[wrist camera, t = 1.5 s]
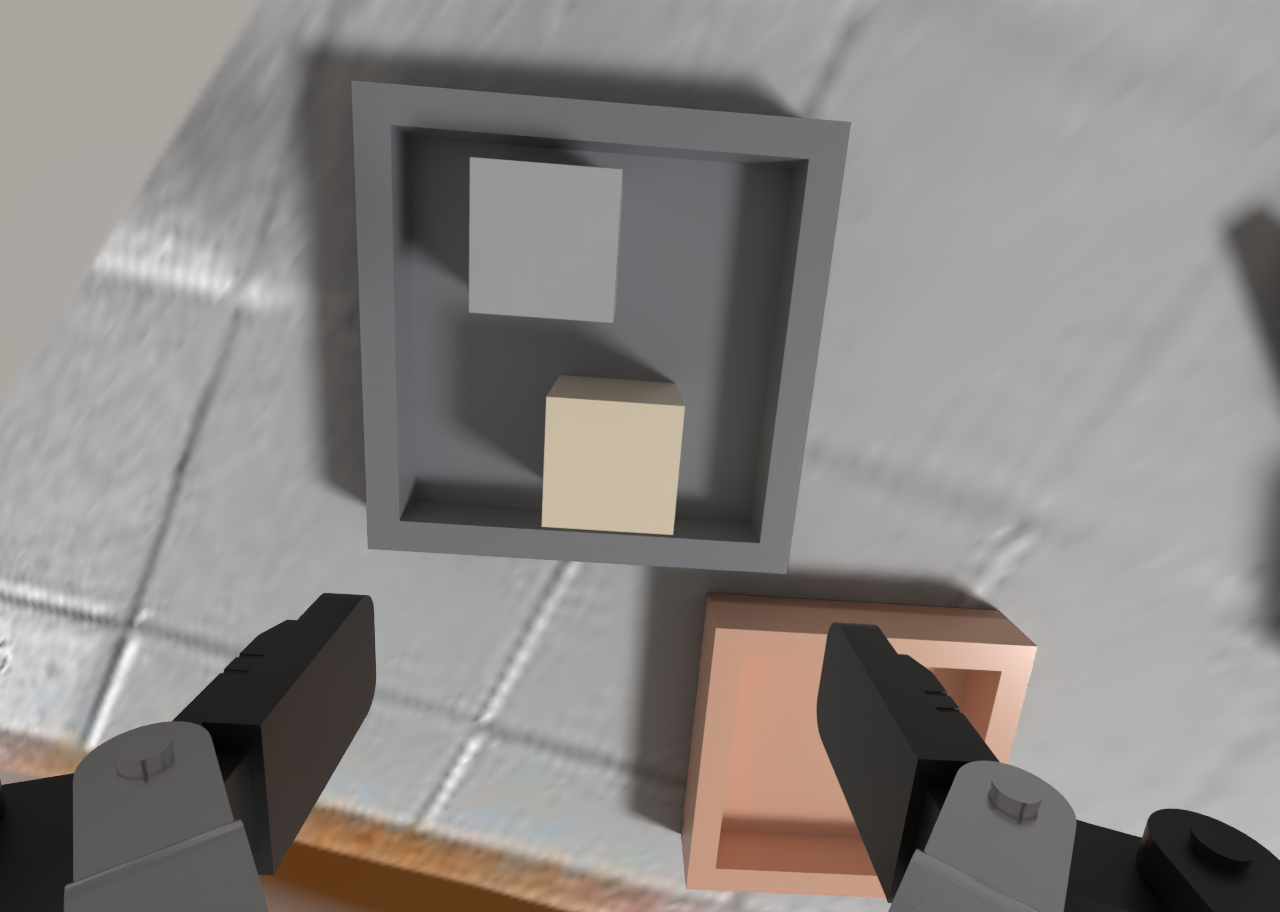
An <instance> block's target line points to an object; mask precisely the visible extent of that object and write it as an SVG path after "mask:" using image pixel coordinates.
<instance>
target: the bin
mask: <svg viewBox="0 0 1280 912" xmlns="http://www.w3.org/2000/svg"><path fill="white" fill-rule="evenodd" d="M351 92H352V120H353V147H354V175H355V203H356V231H357V258H358V286H359V314H360V342H361V369H362V397H363V425H364V452H365V480H366V508H367V536H368V549H379V550H396V551H412V552H429V553H446V554H462V555H479V556H496V557H512V558H529V559H545V560H562V561H579V562H595V563H612V564H629V565H645V566H662V567H678V568H695V569H712V570H728V571H745V572H762V573H778V574H787V569H788V562H789V555H790V548H791V541H792V534H793V527H794V520H795V513H796V506H797V499H798V492H799V485H800V478H801V471H802V464H803V457H804V450H805V443H806V435H807V428H808V421H809V414H810V407H811V400H812V393H813V386H814V379H815V372H816V365H817V358H818V351H819V344H820V337H821V330H822V323H823V316H824V309H825V302H826V295H827V287H828V280H829V273H830V266H831V259H832V252H833V245H834V238H835V231H836V224H837V217H838V210H839V203H840V196H841V189H842V182H843V175H844V168H845V161H846V154H847V146H848V139H849V132H850V125H851V122H843V121H831V120H819V119H807V118H795V117H783V116H771V115H759V114H747V113H735V112H723V111H711V110H700V109H688V108H676V107H664V106H652V105H640V104H628V103H616V102H604V101H592V100H580V99H568V98H556V97H544V96H532V95H520V94H508V93H496V92H485V91H473V90H461V89H449V88H437V87H425V86H413V85H401V84H389V83H377V82H365V81H353V80H351ZM470 157H474V158H487V159H499V160H512V161H524V162H537V163H549V164H561V165H574V166H586V167H599V168H611V169H622V171H623V201H622V217H621V233H620V249H619V265H618V282H617V298H616V313H615V317H614V321H613V323H607V322H593V321H580V320H566V319H552V318H538V317H524V316H511V315H497V314H483V313H469V219H470ZM559 375H567V376H581V377H596V378H610V379H624V380H639V381H653V382H667V383H676V385H677V387H678V390H679V393H680V395H681V398H682V400H683V403H684V405H685V411H684V422H683V433H682V444H681V455H680V465H679V476H678V487H677V498H676V509H675V520H674V531H673V535H666V534H650V533H634V532H618V531H602V530H586V529H569V528H553V527H542V501H543V474H544V447H545V420H546V397H547V395H548V393H549V392H550V390H551V388H552V387H553V385H554V384H555V382H556V380H557V379H558V377H559Z"/></svg>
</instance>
